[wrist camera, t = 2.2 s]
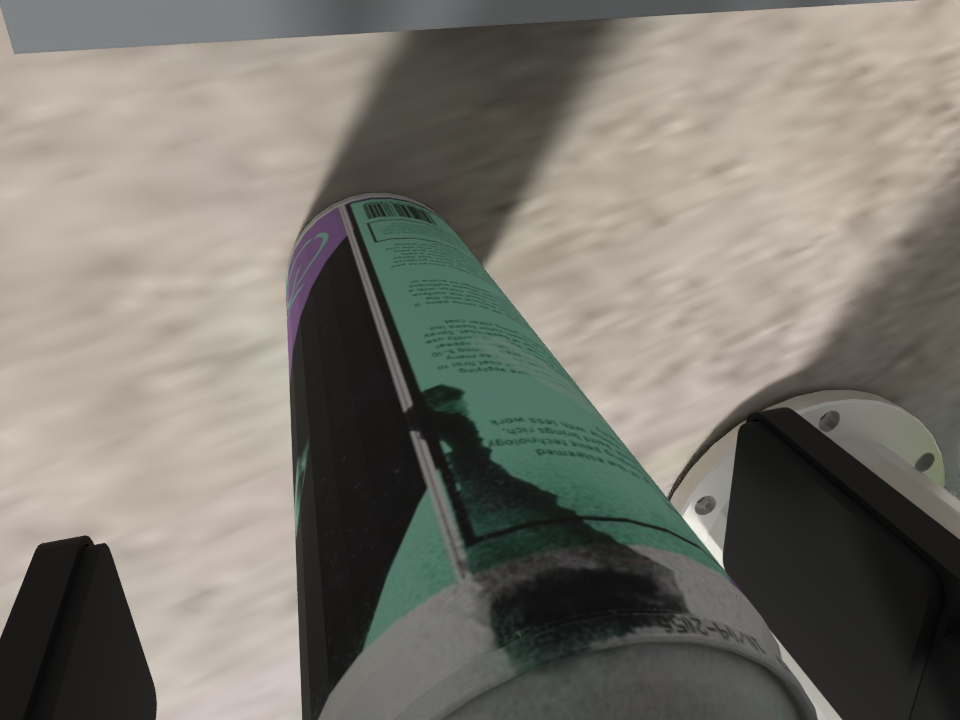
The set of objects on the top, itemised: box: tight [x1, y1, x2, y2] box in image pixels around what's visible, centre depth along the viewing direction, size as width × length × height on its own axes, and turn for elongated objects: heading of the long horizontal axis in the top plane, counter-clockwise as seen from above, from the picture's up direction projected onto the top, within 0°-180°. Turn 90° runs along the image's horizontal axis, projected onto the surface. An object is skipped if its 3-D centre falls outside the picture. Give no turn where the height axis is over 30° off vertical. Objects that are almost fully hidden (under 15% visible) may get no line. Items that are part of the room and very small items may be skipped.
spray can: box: [286, 193, 818, 720], centre depth 14 cm, size 6×6×20 cm
